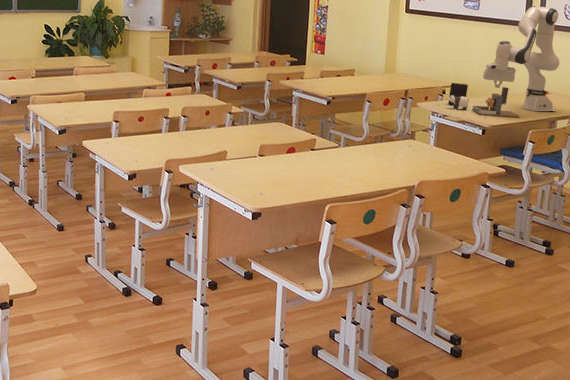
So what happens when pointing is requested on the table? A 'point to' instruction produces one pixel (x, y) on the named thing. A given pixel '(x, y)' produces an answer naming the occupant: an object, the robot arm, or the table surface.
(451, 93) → the calculator
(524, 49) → the robot arm
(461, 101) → the giant panda
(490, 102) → the collar
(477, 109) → the dark grey stand
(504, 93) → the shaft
